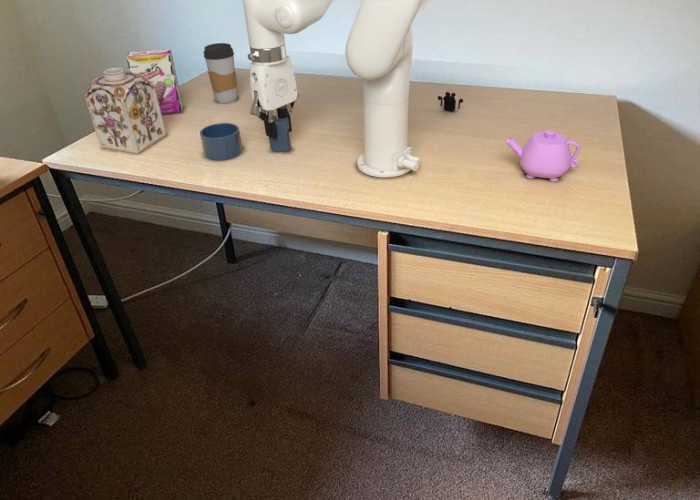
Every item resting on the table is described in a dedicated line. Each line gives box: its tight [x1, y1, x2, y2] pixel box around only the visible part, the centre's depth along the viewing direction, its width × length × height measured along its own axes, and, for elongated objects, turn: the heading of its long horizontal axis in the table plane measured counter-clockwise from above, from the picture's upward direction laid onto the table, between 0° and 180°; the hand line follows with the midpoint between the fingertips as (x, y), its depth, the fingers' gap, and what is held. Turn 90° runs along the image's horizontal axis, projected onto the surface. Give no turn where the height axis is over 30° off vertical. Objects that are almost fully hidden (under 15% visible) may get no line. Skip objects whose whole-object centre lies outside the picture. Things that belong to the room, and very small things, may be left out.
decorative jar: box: [84, 67, 167, 154], centre depth 131 cm, size 12×12×18 cm
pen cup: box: [199, 122, 243, 162], centre depth 127 cm, size 9×9×6 cm
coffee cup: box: [203, 42, 238, 104], centre depth 154 cm, size 8×8×15 cm
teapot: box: [505, 129, 581, 182], centre depth 113 cm, size 10×15×9 cm
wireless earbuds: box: [437, 91, 464, 112], centre depth 143 cm, size 7×2×5 cm, turn 64°
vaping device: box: [268, 105, 292, 153], centre depth 125 cm, size 3×5×12 cm, turn 78°
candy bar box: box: [125, 48, 184, 115], centre depth 147 cm, size 11×5×16 cm, turn 100°
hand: (279, 132), depth 126 cm, fingers closed on vaping device, 4 cm apart
